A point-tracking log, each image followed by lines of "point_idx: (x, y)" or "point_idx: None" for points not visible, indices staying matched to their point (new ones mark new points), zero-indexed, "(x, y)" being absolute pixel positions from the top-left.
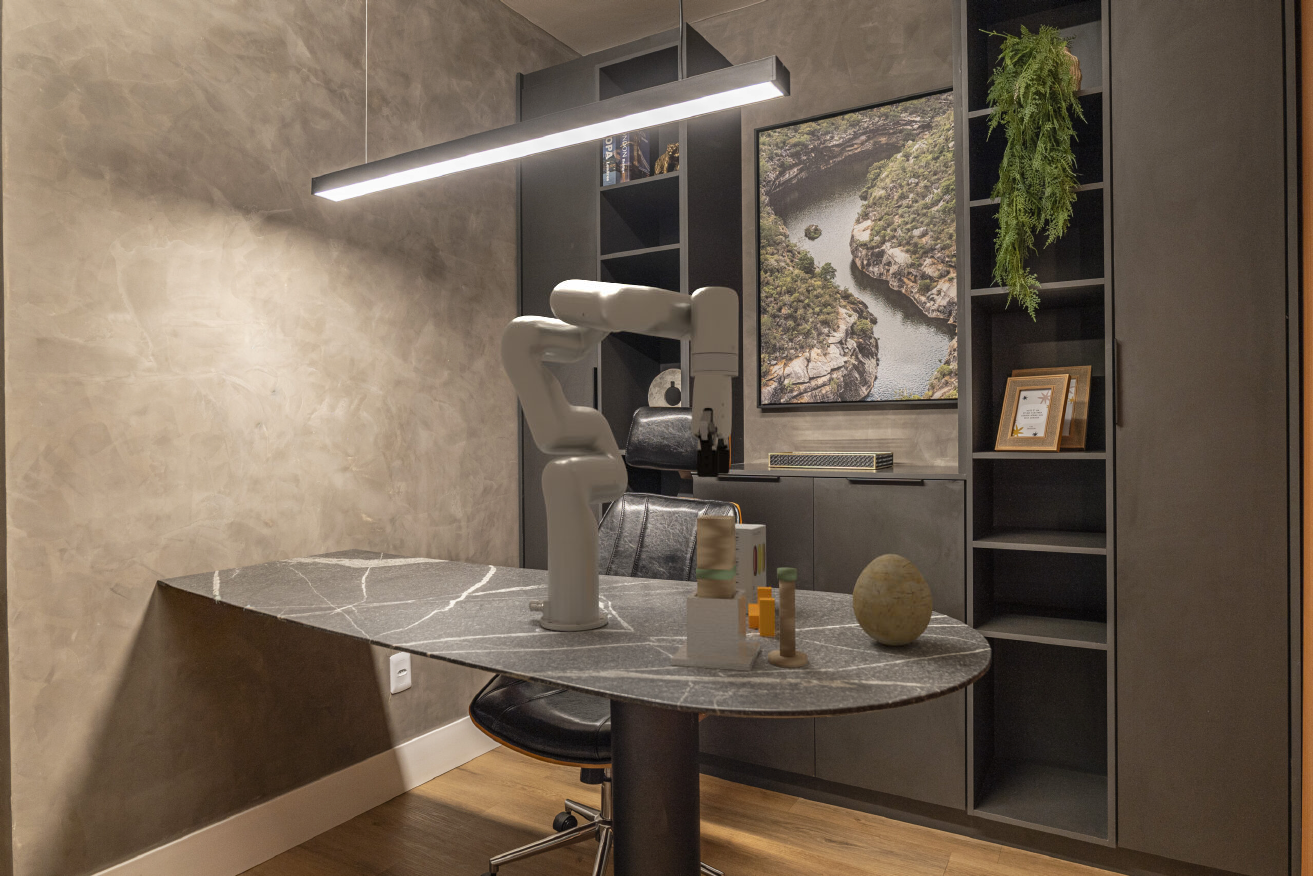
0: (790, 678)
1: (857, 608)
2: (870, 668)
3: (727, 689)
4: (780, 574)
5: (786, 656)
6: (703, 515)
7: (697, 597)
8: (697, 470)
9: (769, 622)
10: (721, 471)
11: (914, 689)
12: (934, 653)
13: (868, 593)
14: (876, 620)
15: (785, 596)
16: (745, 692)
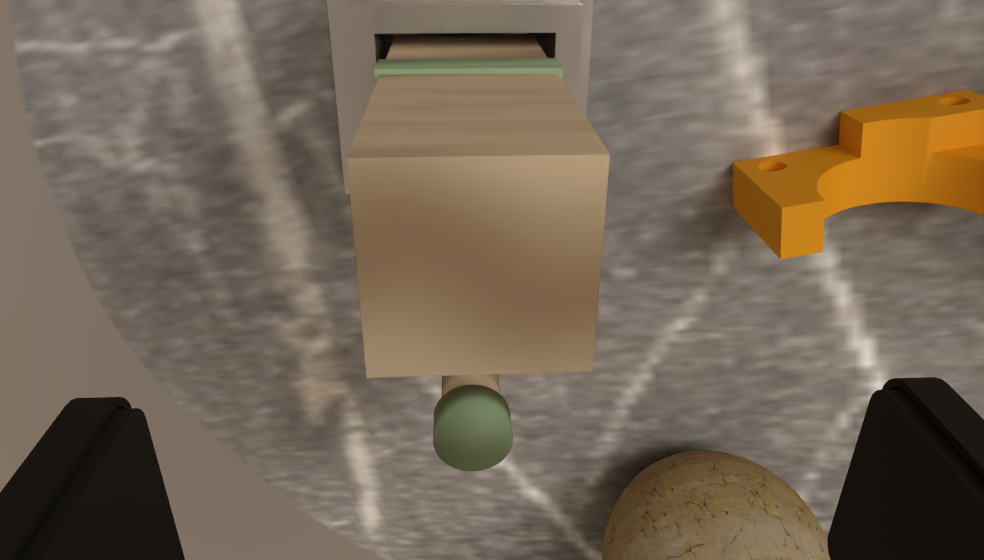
0: (321, 291)
1: (671, 489)
2: None
3: (166, 153)
4: (441, 412)
5: None
6: (576, 163)
7: (358, 56)
8: (39, 443)
9: (750, 208)
10: (852, 510)
11: (335, 517)
12: None
13: (651, 555)
14: (616, 514)
15: (442, 377)
16: (163, 202)
